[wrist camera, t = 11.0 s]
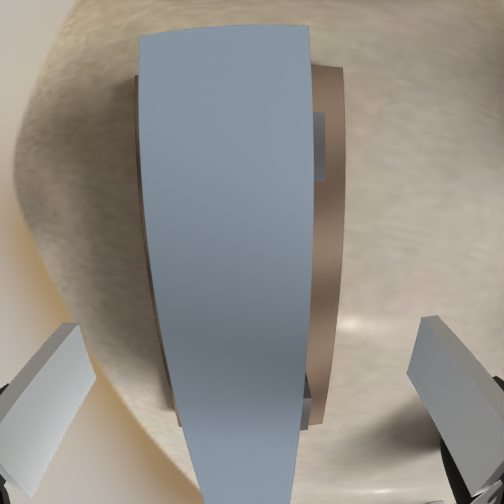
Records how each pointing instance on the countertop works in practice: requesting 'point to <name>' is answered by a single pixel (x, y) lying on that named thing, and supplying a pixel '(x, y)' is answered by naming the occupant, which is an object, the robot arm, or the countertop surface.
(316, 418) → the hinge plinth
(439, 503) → the utensil holder
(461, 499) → the mug
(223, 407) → the door panel
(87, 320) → the countertop surface
